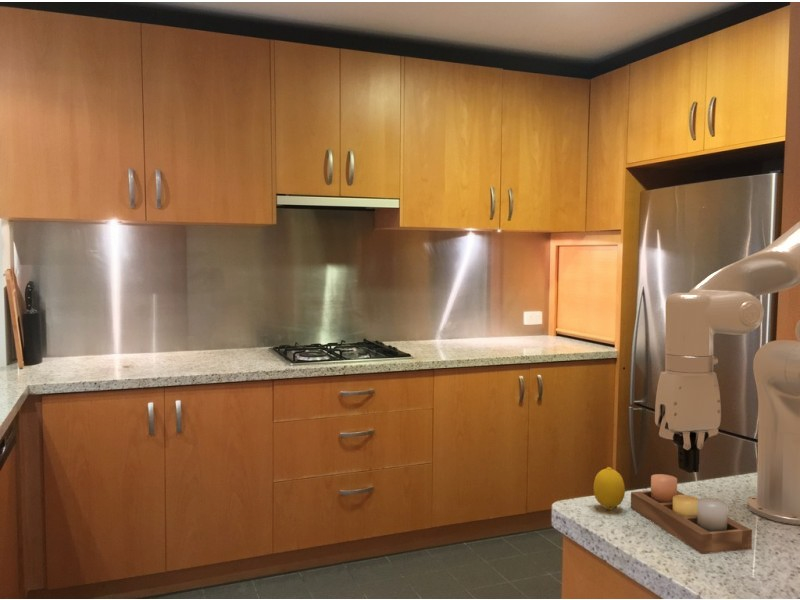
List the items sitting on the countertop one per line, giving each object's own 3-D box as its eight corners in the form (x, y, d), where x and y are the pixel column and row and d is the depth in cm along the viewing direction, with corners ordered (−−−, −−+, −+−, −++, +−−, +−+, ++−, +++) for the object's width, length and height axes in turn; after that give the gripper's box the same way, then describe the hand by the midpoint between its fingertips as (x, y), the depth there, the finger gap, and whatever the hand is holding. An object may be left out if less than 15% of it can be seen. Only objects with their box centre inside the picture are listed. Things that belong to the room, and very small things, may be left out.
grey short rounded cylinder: (714, 523, 106) (715, 497, 106) (733, 533, 102) (733, 506, 102) (691, 525, 105) (691, 499, 105) (709, 535, 101) (709, 508, 101)
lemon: (626, 516, 115) (627, 472, 114) (594, 514, 116) (595, 470, 116) (622, 505, 120) (622, 463, 120) (591, 503, 121) (592, 462, 121)
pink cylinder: (667, 496, 119) (667, 473, 119) (682, 505, 115) (682, 480, 114) (646, 498, 118) (646, 474, 118) (660, 506, 114) (660, 482, 114)
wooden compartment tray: (673, 504, 121) (674, 488, 121) (751, 548, 101) (752, 530, 101) (630, 507, 119) (630, 492, 119) (701, 553, 99) (701, 534, 99)
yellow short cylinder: (689, 518, 113) (689, 494, 112) (706, 528, 108) (706, 502, 108) (667, 520, 112) (667, 495, 112) (683, 530, 107) (683, 504, 107)
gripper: (712, 360, 114) (712, 460, 115) (637, 363, 111) (637, 467, 112) (743, 365, 107) (742, 473, 108) (663, 369, 104) (662, 480, 105)
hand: (688, 469), depth 110 cm, fingers closed
